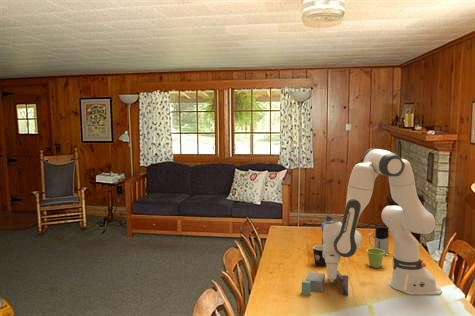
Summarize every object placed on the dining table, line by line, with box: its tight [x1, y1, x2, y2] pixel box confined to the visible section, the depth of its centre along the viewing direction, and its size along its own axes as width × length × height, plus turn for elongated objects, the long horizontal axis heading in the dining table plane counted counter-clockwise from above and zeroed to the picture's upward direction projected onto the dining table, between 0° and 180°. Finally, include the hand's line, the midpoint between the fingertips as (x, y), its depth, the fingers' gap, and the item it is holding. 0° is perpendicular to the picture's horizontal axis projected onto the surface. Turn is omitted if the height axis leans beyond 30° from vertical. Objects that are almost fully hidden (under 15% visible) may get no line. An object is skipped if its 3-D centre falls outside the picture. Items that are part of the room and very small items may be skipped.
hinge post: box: [342, 274, 349, 297], centre depth 178 cm, size 2×2×9 cm
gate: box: [333, 269, 344, 293], centre depth 189 cm, size 18×2×6 cm, turn 7°
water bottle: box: [321, 213, 334, 245], centre depth 232 cm, size 9×9×25 cm
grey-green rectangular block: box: [301, 279, 312, 296], centre depth 180 cm, size 4×2×6 cm, turn 77°
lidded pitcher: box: [368, 227, 390, 255], centre depth 232 cm, size 9×14×15 cm, turn 112°
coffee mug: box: [312, 244, 327, 268], centre depth 215 cm, size 12×9×10 cm
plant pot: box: [366, 247, 385, 269], centre depth 213 cm, size 9×9×9 cm
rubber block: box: [305, 271, 326, 292], centre depth 188 cm, size 8×10×5 cm
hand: (331, 281), depth 186 cm, fingers closed
